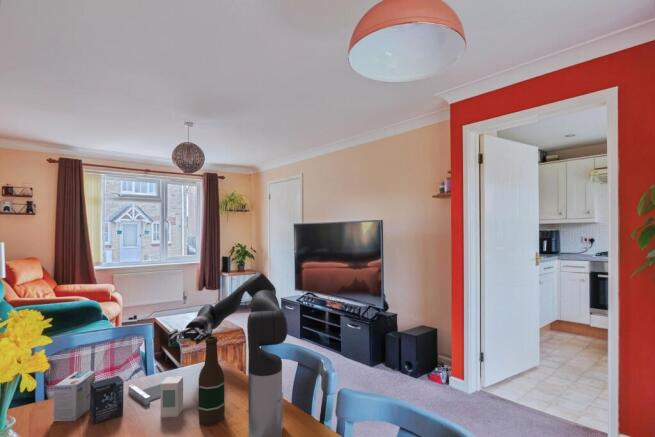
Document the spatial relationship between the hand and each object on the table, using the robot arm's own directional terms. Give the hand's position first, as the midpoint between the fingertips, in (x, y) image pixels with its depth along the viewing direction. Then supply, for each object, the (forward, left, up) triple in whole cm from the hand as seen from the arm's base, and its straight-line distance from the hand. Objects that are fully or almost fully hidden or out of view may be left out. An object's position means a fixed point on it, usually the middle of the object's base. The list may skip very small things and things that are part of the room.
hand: (184, 341), depth 125 cm
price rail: (+14, +1, -18) cm, 23 cm away
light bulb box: (+30, +9, -19) cm, 36 cm away
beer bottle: (-13, +16, -18) cm, 28 cm away
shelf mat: (+10, -4, -18) cm, 21 cm away
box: (+19, +12, -19) cm, 29 cm away
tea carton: (0, +11, -18) cm, 21 cm away
